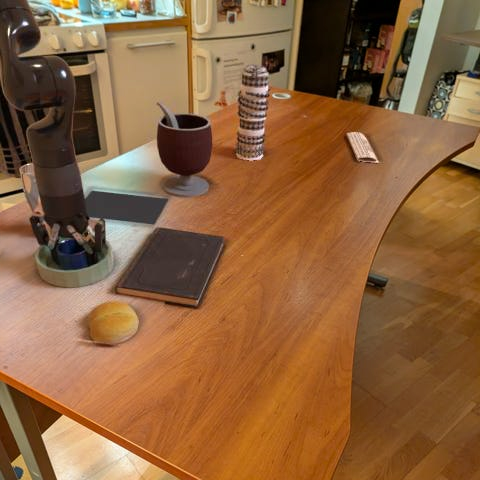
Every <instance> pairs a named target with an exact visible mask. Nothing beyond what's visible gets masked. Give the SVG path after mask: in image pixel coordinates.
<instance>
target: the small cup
mask: <svg viewBox="0 0 480 480" xmlns="http://www.w3.org/2000/svg"><path fill="white" fill-rule="evenodd" d="M56 252H57V256H58V260H59V264H60V268H61V270H64V271H67V270H79V269H83V268H87V267H89V264H88V259H87V251H86V250H85V248H84V247H83V246H82V245H80V244H79V243H78V242H77V240H76V239H67V240H64V241H62V242H60V243H59V244H58V245H57V246H56Z"/></svg>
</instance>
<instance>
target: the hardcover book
mask: <svg viewBox="0 0 480 480" xmlns="http://www.w3.org/2000/svg"><path fill="white" fill-rule="evenodd" d="M225 240H226V236H222V235H215V234H209V233H202V232H195V231H188V230H182V229H175V228H174V229H173V228H168V227H167V228H166V227H161V226H157V227H155V228H154V230H153V231H152V233H151V234H150V236H149V237H148V239H147V240H146V242H145V243H144V244H143V246H142V248H141V249H140V250H139V252H138V253H137V254H136V257H134V259H133V261H132V262H131V264H130V265H129V266H128V268H127V269H126V271H125V272H124V274H123V275H122V277H121V278H120V280H119V281H118V282H117V284H116V285H115V287H114V291H115V294H116V295H117V294H124V295H129V296H134V297H140V298H147V299H153V300H158V301H159V300H160V301H164V304H168V305H174V306H181V307H184V308H185V307H186V308H190V309H191V308H192V309H199V308H200V306H201V304H202V302H203V298H204V296H205V294H206V291H207V289H208V287H209V284H210V282H211V279H212V277H213V275H214V272H215V271H216V268H217V265H218V263H219V262H220V261H219V260H220V258H221V256H222V254H223V251H224V249H225V247H226V244H224V242H225Z"/></svg>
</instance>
